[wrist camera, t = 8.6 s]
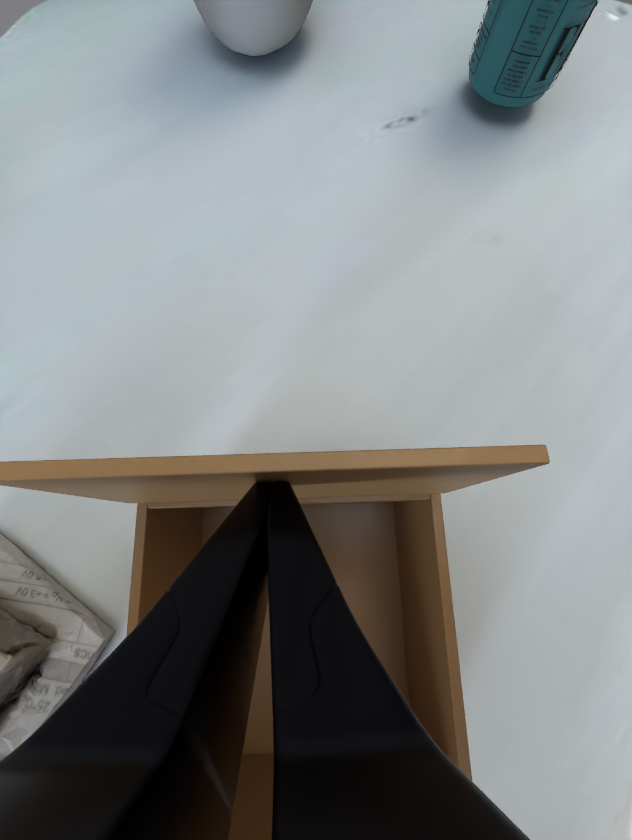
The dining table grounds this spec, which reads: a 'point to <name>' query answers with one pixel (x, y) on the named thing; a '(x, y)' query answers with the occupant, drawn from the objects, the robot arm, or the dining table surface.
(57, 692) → the packaged product
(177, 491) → the flap
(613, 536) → the dining table surface
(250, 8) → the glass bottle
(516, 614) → the dining table surface
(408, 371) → the dining table surface
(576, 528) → the dining table surface
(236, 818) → the carton
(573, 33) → the beverage bottle
